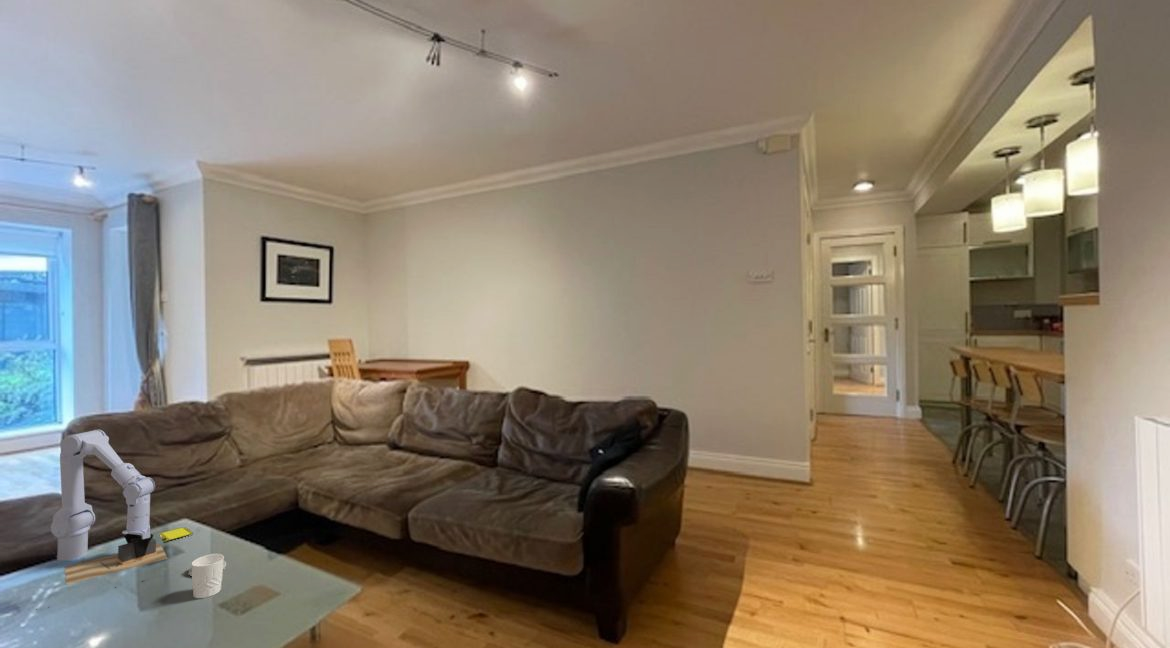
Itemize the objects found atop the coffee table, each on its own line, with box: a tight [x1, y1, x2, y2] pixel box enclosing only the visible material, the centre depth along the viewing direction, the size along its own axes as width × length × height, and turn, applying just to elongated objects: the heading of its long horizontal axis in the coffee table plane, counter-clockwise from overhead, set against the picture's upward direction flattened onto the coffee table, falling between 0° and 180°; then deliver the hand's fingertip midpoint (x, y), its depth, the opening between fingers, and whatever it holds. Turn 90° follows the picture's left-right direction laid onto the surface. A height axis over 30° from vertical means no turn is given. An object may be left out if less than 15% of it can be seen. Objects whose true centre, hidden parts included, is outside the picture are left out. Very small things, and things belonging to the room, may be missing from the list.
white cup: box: [191, 553, 225, 599], centre depth 150 cm, size 8×8×10 cm
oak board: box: [64, 543, 169, 585], centre depth 165 cm, size 16×24×1 cm, turn 138°
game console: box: [152, 526, 194, 544], centre depth 186 cm, size 18×11×2 cm, turn 146°
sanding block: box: [117, 537, 157, 565], centre depth 169 cm, size 5×9×5 cm, turn 149°
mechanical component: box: [188, 552, 227, 577], centre depth 163 cm, size 10×4×10 cm
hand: (137, 554), depth 169 cm, fingers closed on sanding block, 5 cm apart
